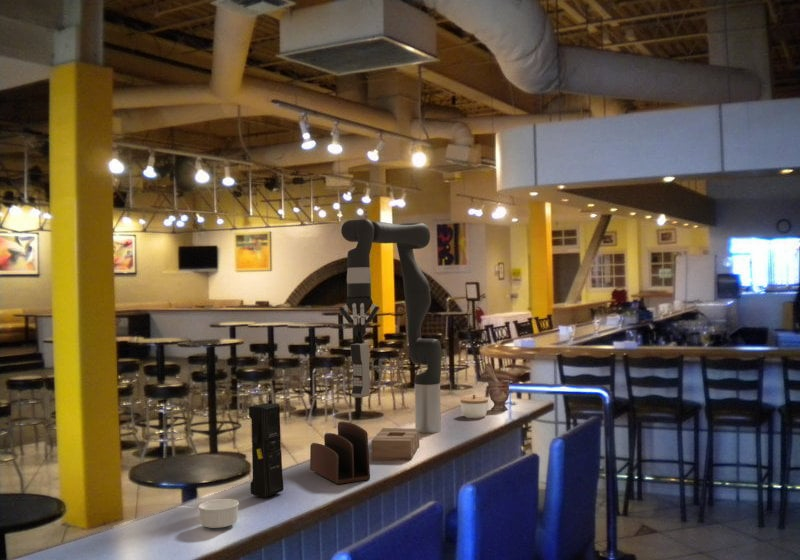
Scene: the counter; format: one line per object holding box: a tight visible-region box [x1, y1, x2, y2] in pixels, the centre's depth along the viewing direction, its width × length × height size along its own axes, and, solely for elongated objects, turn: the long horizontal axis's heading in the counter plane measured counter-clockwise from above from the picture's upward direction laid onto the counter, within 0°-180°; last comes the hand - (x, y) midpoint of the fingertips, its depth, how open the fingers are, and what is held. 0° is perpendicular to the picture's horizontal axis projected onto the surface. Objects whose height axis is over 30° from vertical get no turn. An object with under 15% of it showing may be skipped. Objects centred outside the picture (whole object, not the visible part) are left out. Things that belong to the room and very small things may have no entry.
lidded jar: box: [460, 394, 489, 419], centre depth 306 cm, size 11×11×9 cm
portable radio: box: [248, 393, 284, 498], centre depth 199 cm, size 8×6×25 cm
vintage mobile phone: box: [350, 317, 371, 399], centre depth 247 cm, size 4×5×25 cm
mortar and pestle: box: [484, 362, 510, 412], centre depth 321 cm, size 12×9×20 cm
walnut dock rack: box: [371, 427, 420, 461], centre depth 245 cm, size 20×12×6 cm, turn 171°
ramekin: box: [198, 498, 240, 529], centre depth 175 cm, size 9×9×4 cm
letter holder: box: [309, 421, 371, 485], centre depth 219 cm, size 10×20×14 cm, turn 28°
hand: (360, 336), depth 247 cm, fingers closed
